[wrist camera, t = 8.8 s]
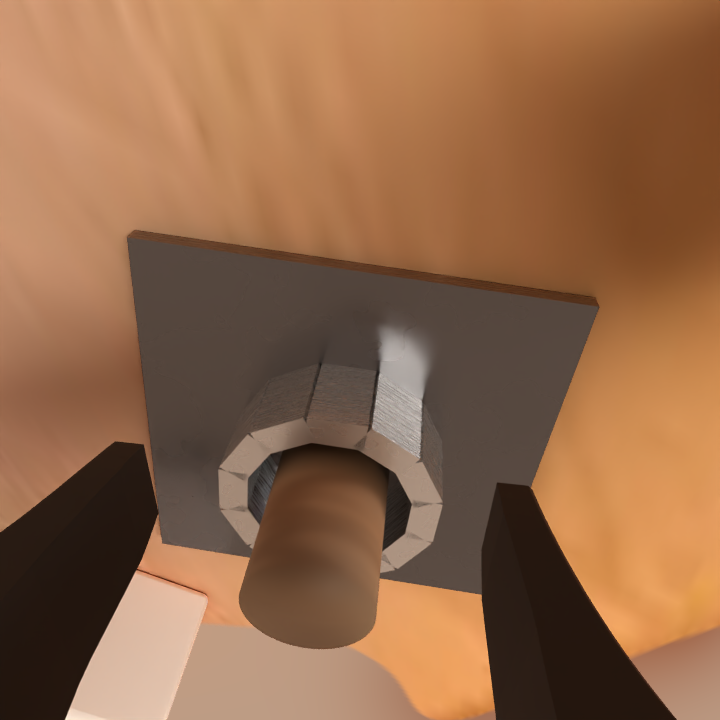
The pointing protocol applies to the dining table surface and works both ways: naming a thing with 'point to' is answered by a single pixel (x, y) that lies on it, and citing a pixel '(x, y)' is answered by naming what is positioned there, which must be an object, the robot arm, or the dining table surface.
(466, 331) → the socket
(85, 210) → the dining table surface
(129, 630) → the medicine bottle
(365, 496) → the peg
